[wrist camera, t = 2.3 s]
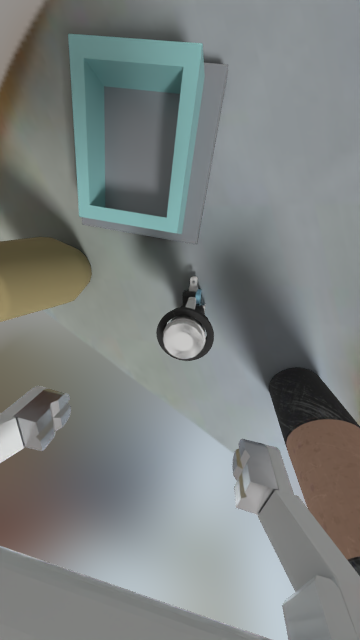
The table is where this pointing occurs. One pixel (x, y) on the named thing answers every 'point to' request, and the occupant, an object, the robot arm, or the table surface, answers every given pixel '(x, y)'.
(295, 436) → the travel mug
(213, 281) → the table surface
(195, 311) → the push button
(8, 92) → the table surface
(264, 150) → the table surface
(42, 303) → the squeeze bottle
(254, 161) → the table surface
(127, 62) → the socket plate
